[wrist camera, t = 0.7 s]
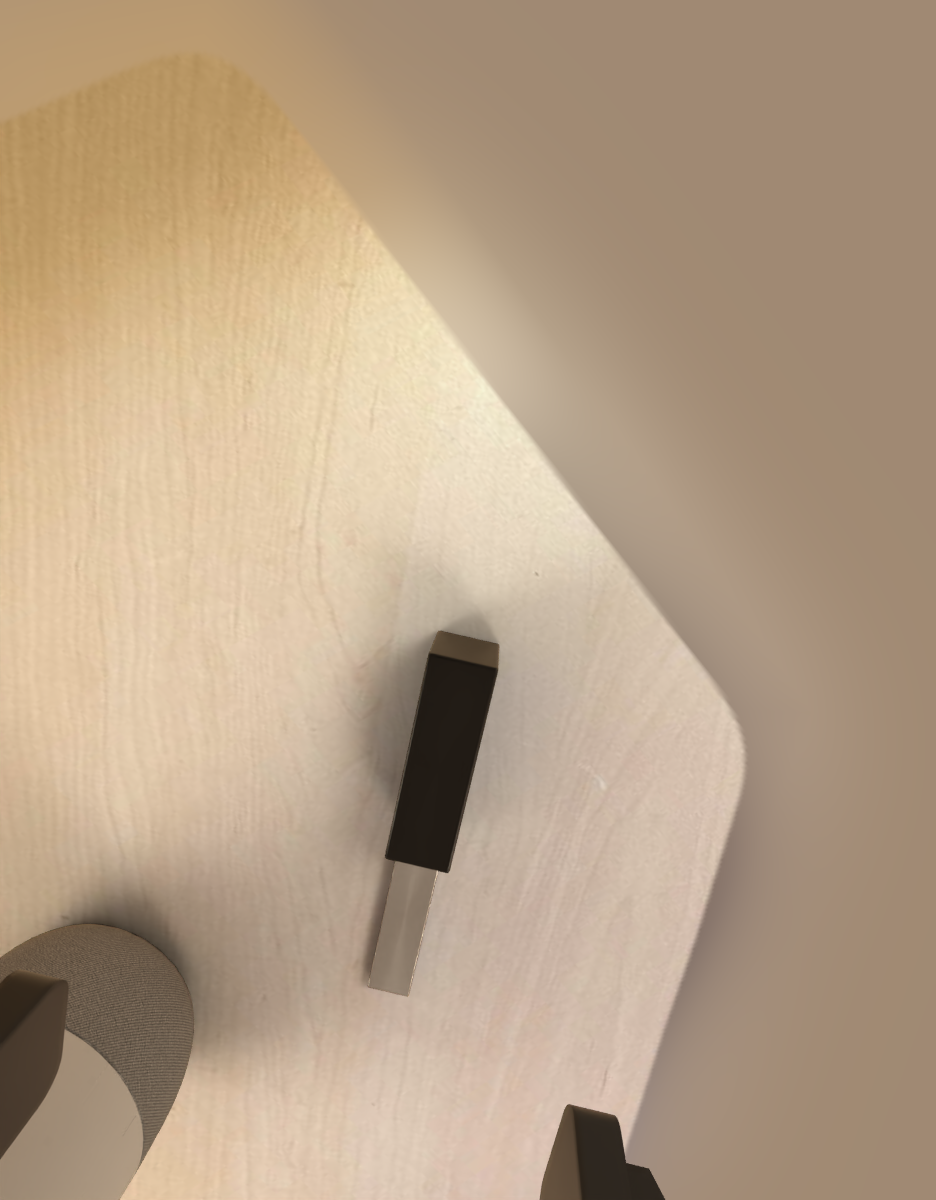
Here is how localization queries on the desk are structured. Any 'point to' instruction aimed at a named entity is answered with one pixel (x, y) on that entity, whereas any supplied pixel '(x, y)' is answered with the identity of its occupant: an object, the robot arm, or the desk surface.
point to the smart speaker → (101, 1064)
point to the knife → (432, 796)
